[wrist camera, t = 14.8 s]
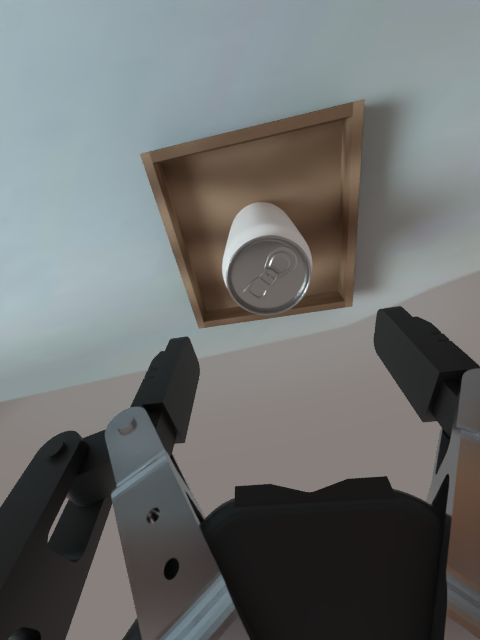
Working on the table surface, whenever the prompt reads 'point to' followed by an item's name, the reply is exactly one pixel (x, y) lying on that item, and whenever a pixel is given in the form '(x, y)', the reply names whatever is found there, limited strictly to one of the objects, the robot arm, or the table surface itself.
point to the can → (266, 260)
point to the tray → (264, 186)
